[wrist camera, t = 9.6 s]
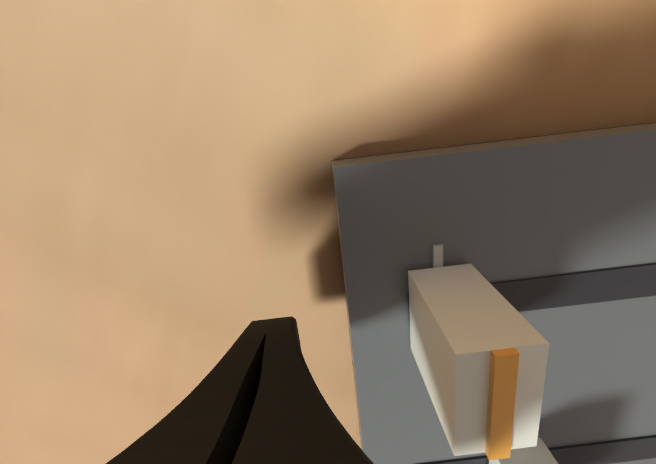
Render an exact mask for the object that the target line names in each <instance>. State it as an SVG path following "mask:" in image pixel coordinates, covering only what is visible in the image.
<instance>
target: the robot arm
mask: <svg viewBox="0 0 656 464" xmlns="http://www.w3.org/2000/svg"><path fill="white" fill-rule="evenodd" d="M106 464H374V463H373V462H372V461H371V460H370V459H369V458H368V457H367V455H366V454H365V453H364V452H363V451H362V450H361V448H360V447H359V446H358V445H357V444H356V443H355V441H354V440H353V439H352V438H351V436H350V435H349V434H348V432H347V431H346V430H345V428H344V427H343V426H342V424H341V423H340V422H339V420H338V419H337V418H336V416H335V415H334V413H333V412H332V410H331V409H330V407H329V406H328V404H327V403H326V401H325V399H324V398H323V396H322V394H321V393H320V391H319V389H318V387H317V386H316V384H315V382H314V380H313V378H312V376H311V374H310V372H309V369H308V367H307V365H306V363H305V360H304V358H303V355H302V352H301V346H300V340H299V334H298V328H297V322H296V319H295V318H293V317H283V318H275V319H267V320H258V321H252V322H251V323H250V324H249V326H248V327H247V328H246V329H245V330H244V332H243V333H242V334H241V335H240V337H239V338H238V339H237V340H236V342H235V343H234V344H233V346H232V347H231V348H230V349H229V350H228V352H227V353H226V354H225V355H224V356H223V358H222V359H221V360H220V361H219V362H218V364H217V365H216V366H215V367H214V368H213V369H212V371H211V372H210V373H209V374H208V375H207V376H206V377H205V378H204V379H203V380H202V381H201V382H200V384H199V385H198V386H197V387H196V388H195V389H194V390H193V391H192V392H191V393H190V394H189V395H188V396H187V397H186V398H185V399H184V400H183V401H182V402H181V403H180V404H179V405H178V406H176V407H175V408H174V409H173V410H172V411H171V412H170V413H169V414H168V415H167V416H165V417H164V418H163V419H162V420H161V421H160V422H159V423H157V424H156V425H155V426H154V427H152V428H151V429H150V430H149V431H147V432H146V433H145V434H144V435H143V436H141V437H140V438H139V439H138V440H136V441H135V442H134V443H133V444H131V445H130V446H129V447H128V448H126V449H125V450H124V451H122V452H121V453H120V454H118V455H117V456H116V457H114V458H113V459H112V460H110V461H109V462H107V463H106Z"/></svg>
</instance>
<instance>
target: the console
mask: <svg viewBox="0 0 656 464" xmlns="http://www.w3.org/2000/svg"><path fill="white" fill-rule="evenodd" d="M331 163H332V172H333V182H334V191H335V200H336V210H337V219H338V229H339V238H340V248H341V257H342V267H343V276H344V286H345V295H346V305H347V314H348V324H349V333H350V343H351V352H352V361H353V371H354V380H355V390H356V399H357V409H358V418H359V428H360V437H361V447H362V451H363V452H364V453H365V454H366V455H367V457H368V458H369V459H370V460H371V461H372V462H373V463H374V464H489V459H488V457H487V455H486V453H476V454H468V455H460V456H454V455H453V452H452V450H451V447H450V445H449V442H448V440H447V437H446V435H445V432H444V430H443V427H442V425H441V422H440V420H439V417H438V415H437V412H436V410H435V407H434V405H433V403H432V400H431V398H430V395H429V393H428V390H427V388H426V385H425V383H424V380H423V378H422V375H421V373H420V370H419V368H418V365H417V363H416V360H415V358H414V355H413V353H412V350H411V341H410V313H409V285H408V271H411V270H420V269H428V268H436V267H445V266H453V265H462V264H470V263H471V264H472V265H473V266H474V267H475V268H476V269H477V270H478V271H479V272H480V273H481V274H482V276H483V277H484V278H485V279H486V280H487V281H488V282H489V283H490V284H491V285H492V286H493V287H494V288H495V289H496V290H497V291H498V292H499V293H500V294H501V295H502V296H503V297H504V298H505V299H506V300H507V301H508V302H509V303H510V304H511V305H512V306H513V307H514V308H515V309H516V310H517V311H518V312H519V313H520V314H521V315H522V316H523V317H524V318H525V319H526V320H527V321H528V322H529V323H530V324H531V325H532V326H533V327H534V328H535V329H536V330H537V331H538V332H539V333H540V334H541V335H542V336H543V337H544V338H545V339H546V340H547V341H548V342H549V351H548V359H547V367H546V375H545V383H544V391H543V399H542V407H541V415H540V423H539V431H538V438H541V439H542V441H543V442H544V444H545V445H546V446H547V448H548V449H549V451H550V452H551V454H552V455H553V457H554V458H555V460H556V461H557V463H558V464H656V123H649V124H641V125H632V126H624V127H615V128H607V129H598V130H590V131H581V132H573V133H564V134H555V135H547V136H538V137H530V138H521V139H513V140H504V141H496V142H487V143H479V144H470V145H462V146H453V147H445V148H436V149H428V150H419V151H411V152H402V153H394V154H385V155H376V156H368V157H359V158H351V159H342V160H334V161H331Z"/></svg>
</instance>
